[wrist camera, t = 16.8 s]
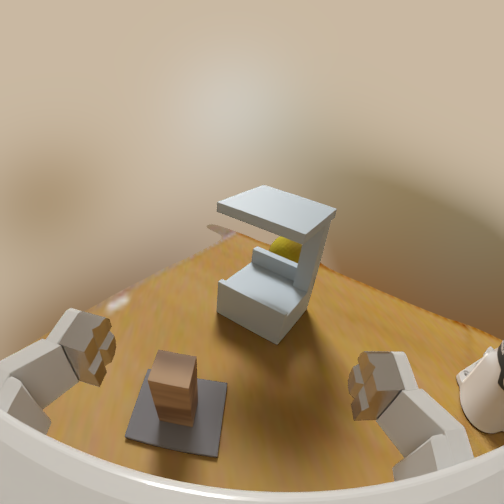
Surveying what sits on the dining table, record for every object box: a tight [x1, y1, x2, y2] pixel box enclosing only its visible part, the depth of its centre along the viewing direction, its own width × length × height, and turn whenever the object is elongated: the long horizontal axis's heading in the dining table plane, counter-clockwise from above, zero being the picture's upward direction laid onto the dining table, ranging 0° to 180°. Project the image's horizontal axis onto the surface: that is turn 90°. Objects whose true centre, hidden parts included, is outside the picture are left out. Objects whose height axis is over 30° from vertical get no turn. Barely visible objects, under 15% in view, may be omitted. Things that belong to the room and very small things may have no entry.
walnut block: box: [148, 350, 198, 427], centre depth 32 cm, size 4×4×10 cm
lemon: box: [269, 236, 302, 263], centre depth 68 cm, size 11×8×8 cm
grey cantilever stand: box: [217, 185, 336, 345], centre depth 50 cm, size 13×14×22 cm
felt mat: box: [125, 369, 227, 458], centre depth 34 cm, size 12×12×1 cm
